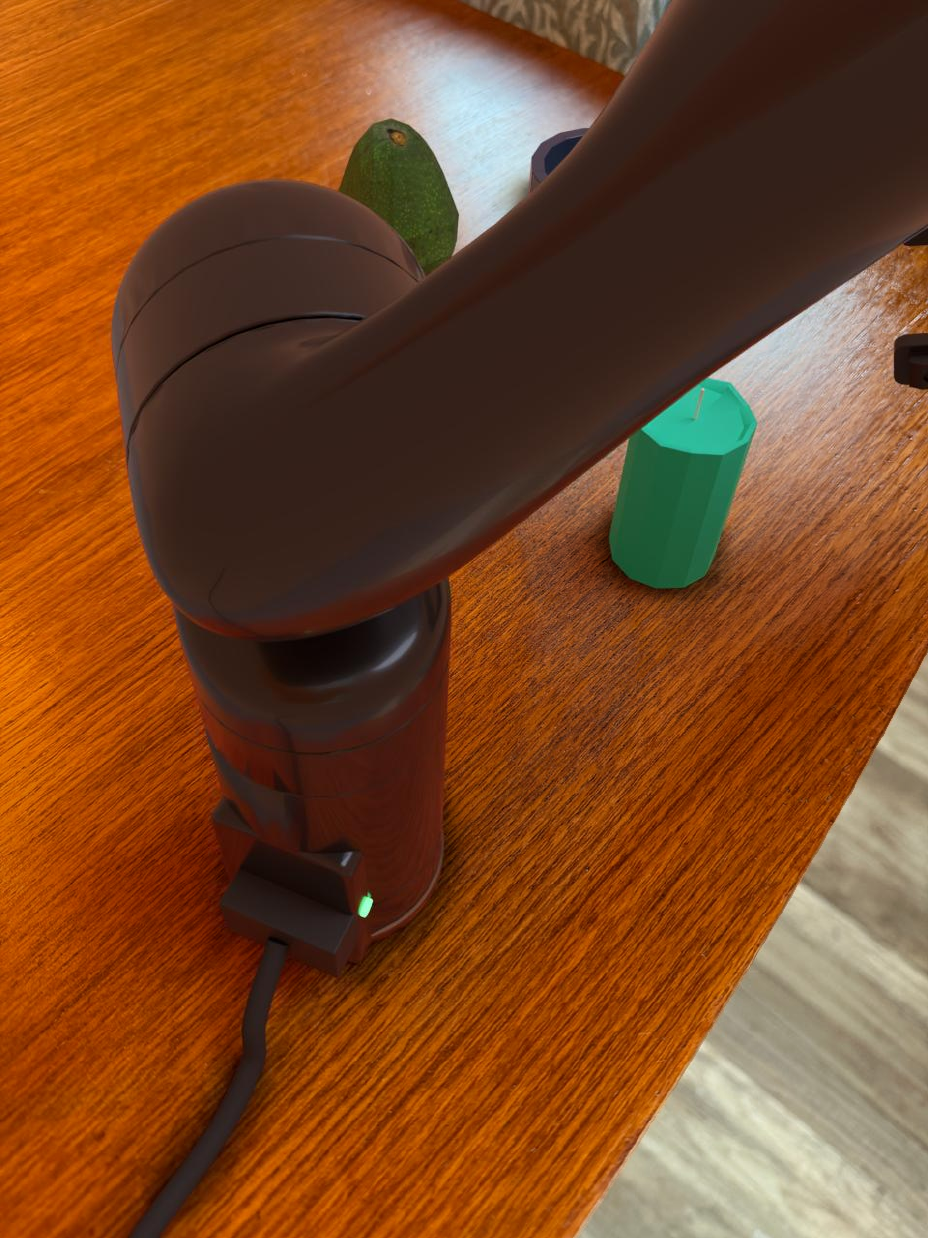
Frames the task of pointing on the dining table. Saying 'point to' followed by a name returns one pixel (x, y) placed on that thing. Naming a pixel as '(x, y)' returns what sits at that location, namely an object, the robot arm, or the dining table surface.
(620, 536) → the candle
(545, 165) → the bowl
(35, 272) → the dining table surface
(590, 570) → the dining table surface
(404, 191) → the avocado
